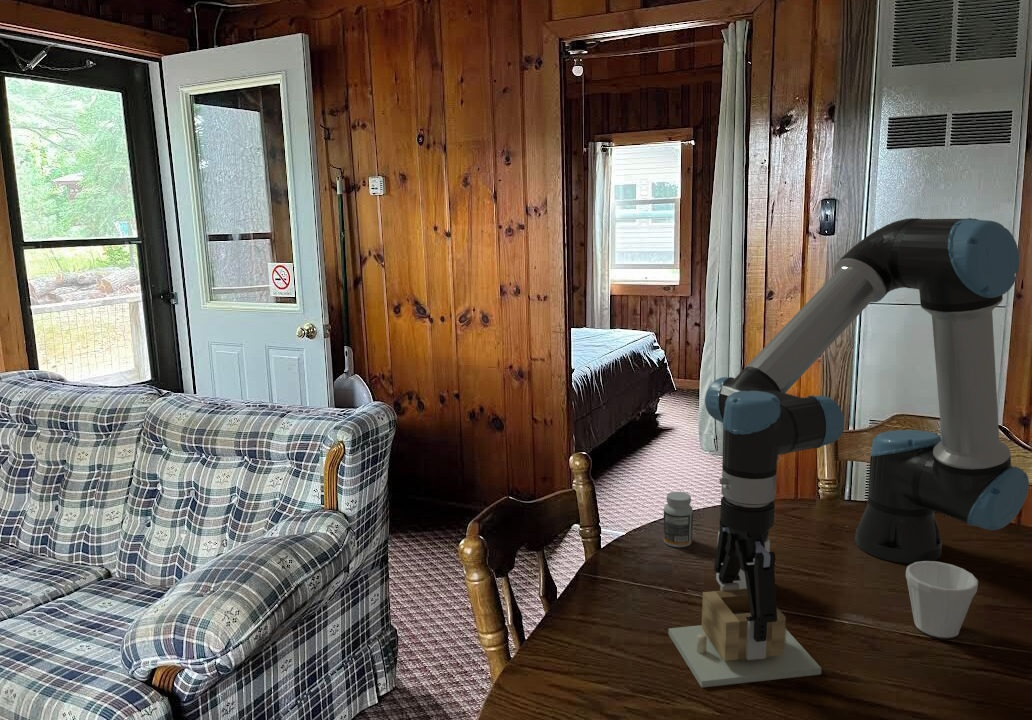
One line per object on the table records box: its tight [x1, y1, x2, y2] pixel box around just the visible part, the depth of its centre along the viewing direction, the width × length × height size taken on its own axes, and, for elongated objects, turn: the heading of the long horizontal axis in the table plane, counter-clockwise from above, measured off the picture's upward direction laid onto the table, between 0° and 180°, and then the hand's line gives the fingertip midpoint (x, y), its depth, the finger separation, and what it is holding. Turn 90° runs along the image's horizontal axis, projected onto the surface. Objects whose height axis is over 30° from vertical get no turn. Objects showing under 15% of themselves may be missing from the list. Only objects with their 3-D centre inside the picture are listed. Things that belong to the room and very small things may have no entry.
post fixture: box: [668, 612, 822, 688], centre depth 117 cm, size 18×14×6 cm
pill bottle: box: [662, 491, 694, 548], centre depth 155 cm, size 6×6×10 cm
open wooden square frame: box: [701, 588, 787, 661], centre depth 117 cm, size 9×9×6 cm
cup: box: [905, 561, 979, 640], centre depth 123 cm, size 10×10×9 cm
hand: (741, 639), depth 118 cm, fingers closed on open wooden square frame, 9 cm apart
